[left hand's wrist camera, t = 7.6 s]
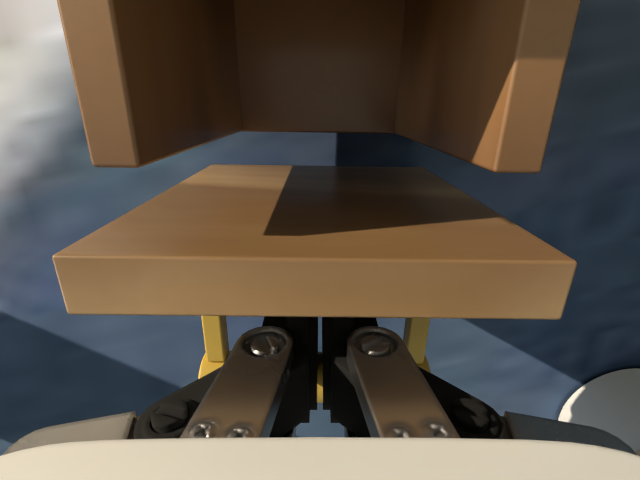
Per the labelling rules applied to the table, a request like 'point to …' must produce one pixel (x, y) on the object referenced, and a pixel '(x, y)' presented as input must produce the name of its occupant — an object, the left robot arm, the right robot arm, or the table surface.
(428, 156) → the table surface
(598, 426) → the coffee cup
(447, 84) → the drawer
